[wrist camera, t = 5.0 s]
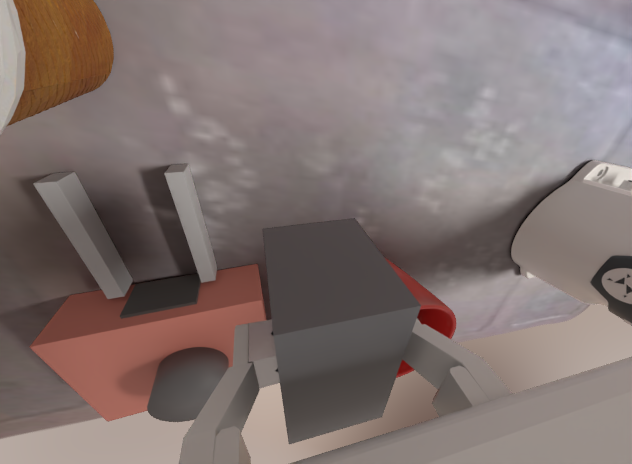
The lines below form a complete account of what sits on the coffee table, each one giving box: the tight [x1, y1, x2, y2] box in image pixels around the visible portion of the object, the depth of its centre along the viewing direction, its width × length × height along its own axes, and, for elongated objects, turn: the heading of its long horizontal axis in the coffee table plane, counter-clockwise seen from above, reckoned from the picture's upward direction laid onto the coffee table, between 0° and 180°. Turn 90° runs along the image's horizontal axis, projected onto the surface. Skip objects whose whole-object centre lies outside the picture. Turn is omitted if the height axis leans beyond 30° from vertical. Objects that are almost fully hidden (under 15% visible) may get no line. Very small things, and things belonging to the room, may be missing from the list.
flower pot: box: [384, 257, 456, 378], centre depth 26 cm, size 11×11×10 cm
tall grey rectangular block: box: [263, 218, 421, 444], centre depth 10 cm, size 4×7×5 cm, turn 0°
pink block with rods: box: [30, 164, 267, 422], centre depth 20 cm, size 16×22×8 cm
